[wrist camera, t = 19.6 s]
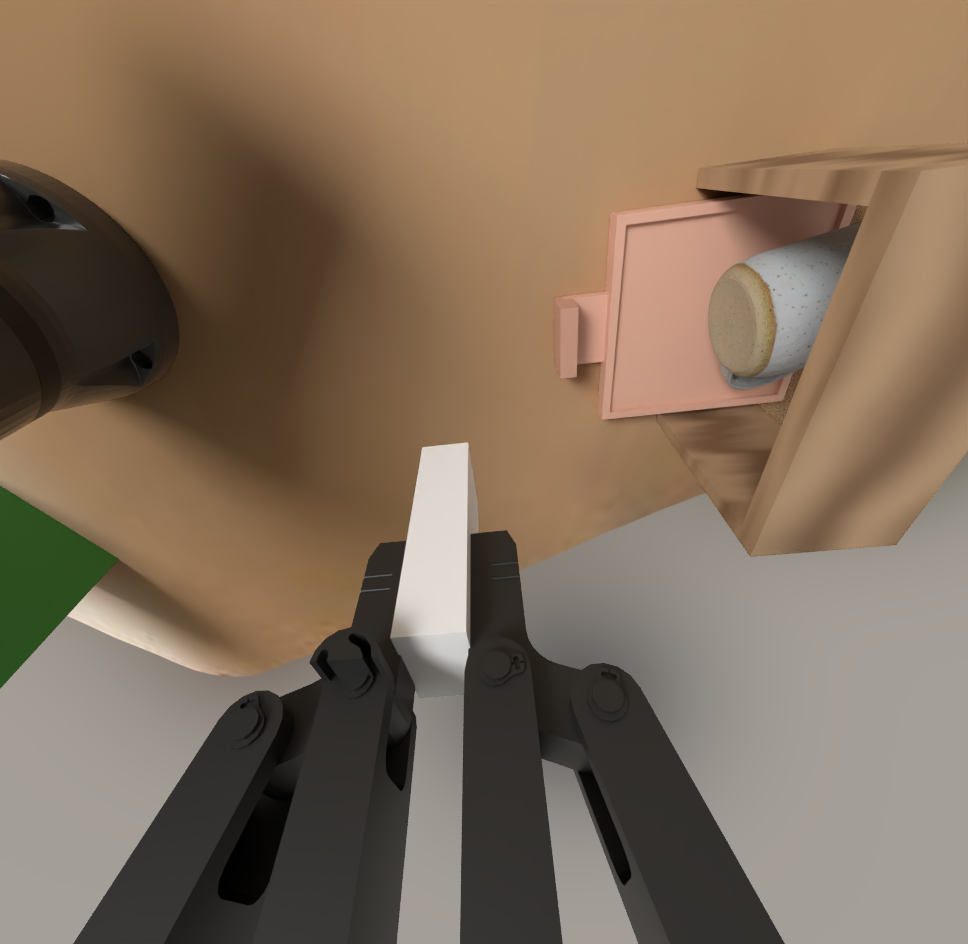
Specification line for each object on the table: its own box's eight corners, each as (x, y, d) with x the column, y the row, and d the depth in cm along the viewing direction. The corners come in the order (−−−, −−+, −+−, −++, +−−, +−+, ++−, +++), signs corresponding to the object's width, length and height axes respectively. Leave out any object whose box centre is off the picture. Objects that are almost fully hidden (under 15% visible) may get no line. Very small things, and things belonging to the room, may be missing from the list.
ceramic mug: (703, 251, 25) (782, 288, 19) (841, 206, 24) (969, 229, 18) (694, 392, 32) (750, 451, 26) (802, 361, 31) (885, 415, 25)
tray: (554, 414, 35) (560, 433, 33) (553, 220, 26) (560, 226, 24) (771, 392, 34) (793, 409, 31) (846, 180, 25) (885, 182, 23)
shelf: (656, 420, 35) (750, 556, 23) (699, 168, 24) (921, 171, 12) (749, 411, 35) (896, 544, 23) (836, 148, 24) (1210, 132, 12)
